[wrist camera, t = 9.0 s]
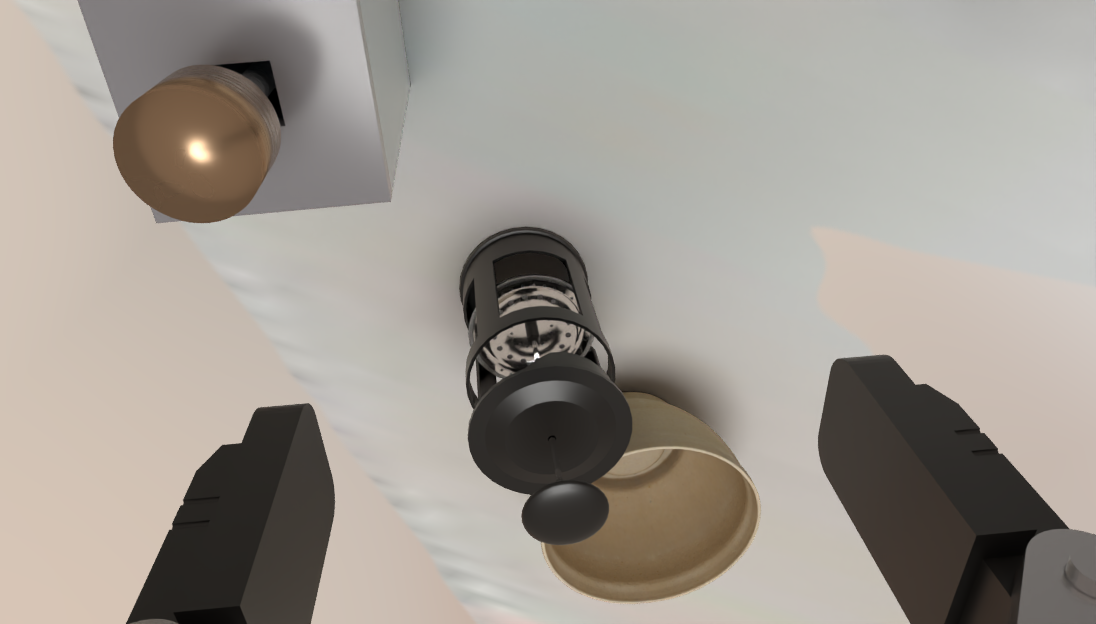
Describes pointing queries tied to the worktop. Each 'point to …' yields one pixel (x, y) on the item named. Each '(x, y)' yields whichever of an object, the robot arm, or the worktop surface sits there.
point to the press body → (279, 82)
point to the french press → (541, 387)
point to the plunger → (200, 141)
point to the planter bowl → (663, 513)
